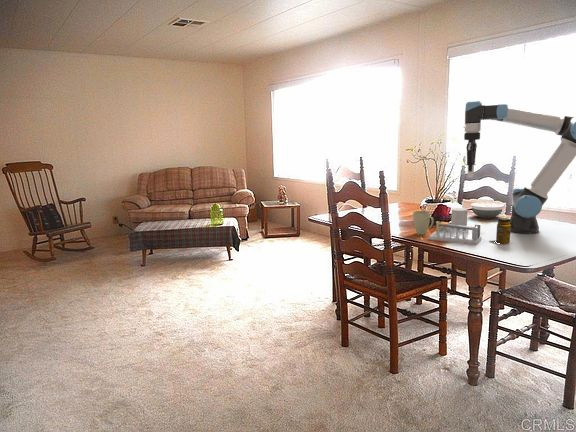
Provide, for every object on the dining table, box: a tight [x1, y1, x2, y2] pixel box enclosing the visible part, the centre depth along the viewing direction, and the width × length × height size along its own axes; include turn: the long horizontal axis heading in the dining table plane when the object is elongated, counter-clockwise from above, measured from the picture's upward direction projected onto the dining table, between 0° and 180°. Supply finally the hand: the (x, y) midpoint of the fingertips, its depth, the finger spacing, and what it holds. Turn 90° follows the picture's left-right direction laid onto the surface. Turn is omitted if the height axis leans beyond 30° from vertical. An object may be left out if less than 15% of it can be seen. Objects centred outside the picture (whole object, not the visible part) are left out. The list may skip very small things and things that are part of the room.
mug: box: [412, 210, 435, 235], centre depth 226 cm, size 11×10×12 cm
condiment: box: [488, 217, 513, 246], centre depth 202 cm, size 7×8×12 cm
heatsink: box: [428, 221, 483, 245], centre depth 212 cm, size 23×12×8 cm, turn 55°
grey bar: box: [439, 221, 481, 231], centre depth 211 cm, size 19×4×2 cm, turn 55°
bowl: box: [470, 201, 505, 220], centre depth 260 cm, size 19×19×8 cm
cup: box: [450, 207, 468, 233], centre depth 230 cm, size 8×8×12 cm
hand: (470, 177), depth 218 cm, fingers closed
